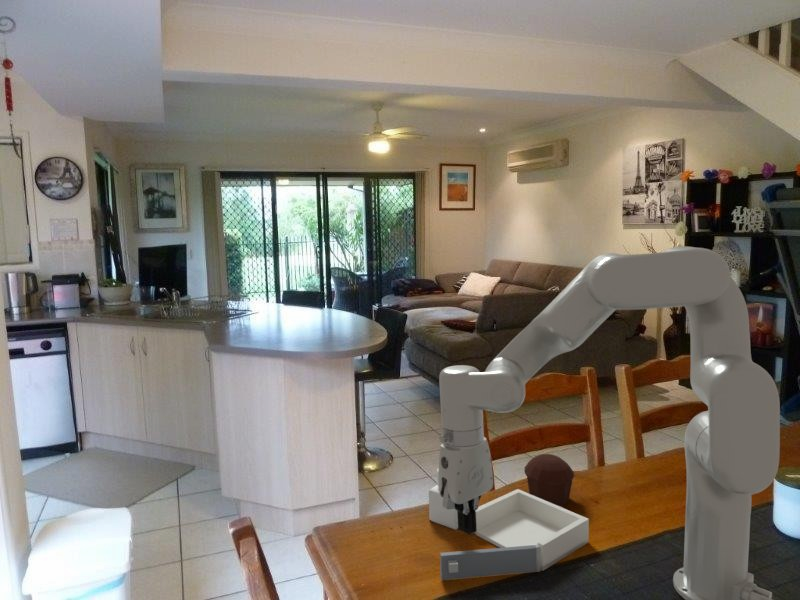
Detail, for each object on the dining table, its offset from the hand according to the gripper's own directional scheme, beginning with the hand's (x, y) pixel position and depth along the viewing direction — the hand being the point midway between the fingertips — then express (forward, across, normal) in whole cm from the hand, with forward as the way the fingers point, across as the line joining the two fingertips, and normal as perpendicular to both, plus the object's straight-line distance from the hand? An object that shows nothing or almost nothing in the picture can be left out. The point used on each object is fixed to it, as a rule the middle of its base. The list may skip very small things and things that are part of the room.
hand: (467, 530), depth 104 cm
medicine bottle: (+8, +11, +16) cm, 21 cm away
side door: (+7, +1, -4) cm, 9 cm away
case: (+8, +17, 0) cm, 19 cm away
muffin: (+9, +35, +8) cm, 37 cm away
